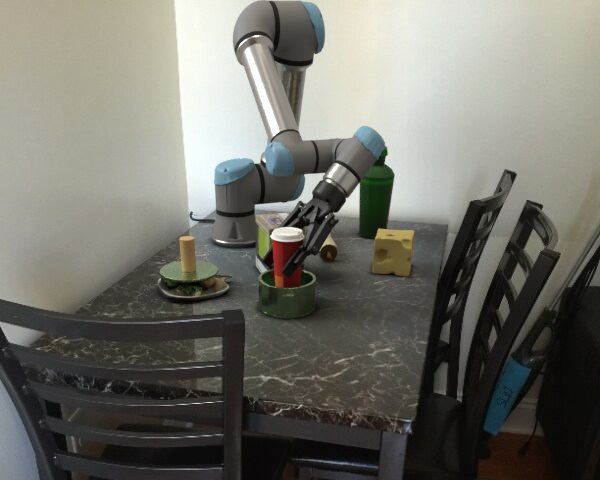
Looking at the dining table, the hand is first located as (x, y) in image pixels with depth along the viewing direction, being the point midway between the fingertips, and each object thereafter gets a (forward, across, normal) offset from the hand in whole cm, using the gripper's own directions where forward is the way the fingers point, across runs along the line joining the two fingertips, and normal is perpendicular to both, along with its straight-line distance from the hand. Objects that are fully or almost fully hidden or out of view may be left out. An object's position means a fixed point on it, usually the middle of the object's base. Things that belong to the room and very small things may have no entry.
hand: (275, 269), depth 149 cm
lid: (+12, +22, +4) cm, 25 cm away
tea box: (-3, +20, -17) cm, 27 cm away
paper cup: (+2, 0, -6) cm, 7 cm away
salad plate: (+15, +22, +1) cm, 27 cm away
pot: (+5, 0, -10) cm, 11 cm away
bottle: (-34, +35, -49) cm, 69 cm away
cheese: (-23, +7, -38) cm, 45 cm away
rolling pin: (-19, +32, -34) cm, 51 cm away
